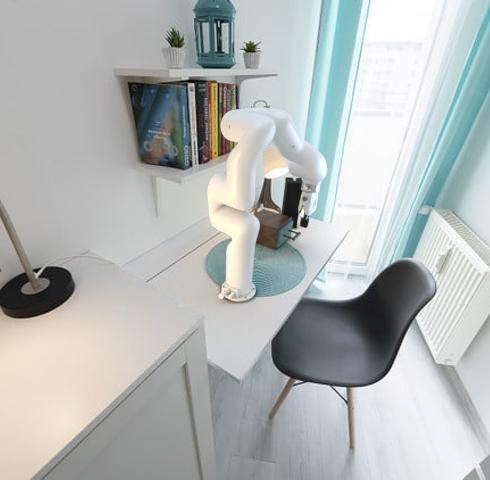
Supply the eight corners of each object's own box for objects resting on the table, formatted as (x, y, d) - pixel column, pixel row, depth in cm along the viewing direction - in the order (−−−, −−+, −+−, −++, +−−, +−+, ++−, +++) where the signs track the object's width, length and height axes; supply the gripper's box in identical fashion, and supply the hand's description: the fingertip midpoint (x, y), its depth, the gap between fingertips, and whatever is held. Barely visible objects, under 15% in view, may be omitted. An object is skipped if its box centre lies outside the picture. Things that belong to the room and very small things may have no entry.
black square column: (296, 228, 151) (305, 176, 136) (281, 228, 151) (288, 175, 136) (294, 221, 157) (302, 171, 143) (280, 221, 157) (286, 170, 143)
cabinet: (288, 236, 143) (291, 217, 137) (275, 249, 132) (277, 228, 127) (261, 227, 150) (263, 208, 145) (246, 239, 139) (247, 219, 134)
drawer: (302, 240, 139) (305, 223, 134) (290, 252, 129) (293, 235, 124) (264, 227, 148) (266, 212, 143) (251, 238, 138) (252, 221, 134)
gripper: (313, 193, 111) (305, 235, 120) (325, 184, 122) (317, 223, 131) (295, 189, 114) (288, 230, 123) (308, 180, 125) (302, 218, 134)
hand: (303, 226), depth 127 cm, fingers closed
